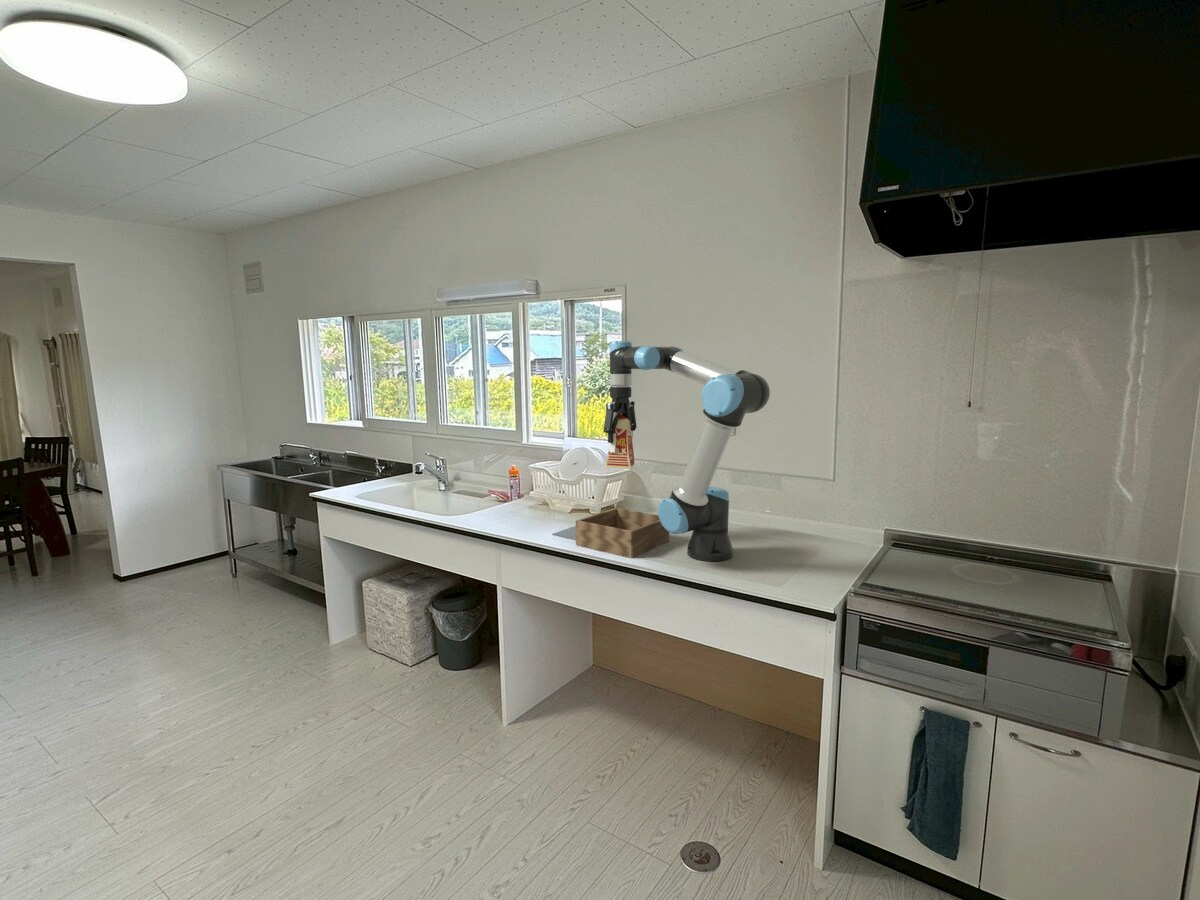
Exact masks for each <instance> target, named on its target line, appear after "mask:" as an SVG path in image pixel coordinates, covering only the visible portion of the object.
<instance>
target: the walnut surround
mask: <svg viewBox="0 0 1200 900" xmlns="http://www.w3.org/2000/svg"><path fill="white" fill-rule="evenodd" d="M575 526H576V540H575V546H576V545H578V546H577V547H580V546H582V547H581V548H585V547H586V548H587V549H589V548H590V550H593V549H595V550H594V551H597V552H603V553H606V552H607V554H612V555H615V554H616V556H619V555H620V556H619V557H624V556H625V557H624V558H628V557H629V559H633V558H636V557H637V556H640V555H642V554H644V553H646V552H648V551H651V550H653V549H655V548H658V547H660V546H663V545H664V544H667V543H670V532H668V531H667V530H666V529H665V528H664V527H663V525H662V524H661V522H660V518H659V516H658V514H654V513H648V512H641V511H636V510H630V509H626V508H625V509H624V508H618V507H615V508H611V509H608V510H606V511H605V510H604V511H601V512H599V513H596V514H593V515H589V516H587V517H584V518H581V519H580V518H579V519H578V520H575Z"/></svg>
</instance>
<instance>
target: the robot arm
mask: <svg viewBox="0 0 1200 900" xmlns="http://www.w3.org/2000/svg"><path fill="white" fill-rule="evenodd" d="M609 345H610V346H609V385H610V387H609V398H611V399H612V400H611V402H609V403H608V402H607V403H605V409H606V410H605V415H604V417H605V418H604V424H603V432H604V433H605V434H607V444H608V452H609V450H610V452H614V453H615V452H616V434H615V433H614V432H615V429H616V425H617V422H618V418H619V416H620V415H621V413H622V416H624V417H626V418H628V420H629V421H630V426H631V433H632V439H633V435H634V434H633V433H634V431H636V429H637V427H638V426H637V419H636V412H635V411H636V410H635V403H636V402H635V401H631V400H630V398H631V397H632V387H631V386H632V382H633V381H632V380H633V379H632V375H633V374H632V372H633V371H632V370H644V371H646V370H647V371H648V370H667V371H669V372H672V373H675V374H676V375H680V376H682V377H685V378H687V379H690V380H692V381H693V382H694V381H695V382H697V383H699V384H702V385H704V386H703V389H702V390H701V391H702V392H701V396H700V397H701V399H700V400H701V401H702V402H701V405H702V407H703V410H702V413H703V414H702V415H703V416H704V418H705V419H704V422H703V425H702V427H701V429H700V432H699V434H698V436H697V440H696V442H695V445H694V448H693V450H692V452H691V455H690V458H689V461H688V463H687V465H686V468H685V470H684V473H683V476H682V479H681V480H680V483H677V484H675V485H674V486H673V488H672V490H671V492H670V496H669V497H666V498H664V499H662V500H661V501H660V502H659V505H658V508H657V513H658V514H657V515H658V516H659V518H660V522H661V524H662V525H663V527H664V528H665V529H666V530H667V531H668V532H669V534H673V535H679V534H680V535H682V534H686V533H688V532H692V533H691V535H690V538H689V541H688V545H687V548H686V549H687V552H686V553H687V555H688V557H689V558H692V559H694V560H698V561H705V562H723V561H726V560H727V561H728V560H730V559H732V558H733V557H734V548H733V546H732V541H731V537H730V535H729V514H730V513H729V511H730V510H729V509H730V500H729V498H730V496H729V492H728V490H727V489H725V488H721V487H716V486H710V485H711V482H712V481H713V478H714V476H715V473H716V470H717V469H718V467H719V463H720V461H721V459H722V457H723V454H724V451H725V450H726V447H727V445H728V442H729V440H730V437H731V435H732V432H733V430H734V429H736V428H737V429H738V428H739V427H741V425H742V422H743V420H744V418H745V415H746V414H752V413H757V412H758V411H761V410H762V409H763V408H764V407H765V406H766V405H767V404H768V402H769V400H770V395H771V391H770V386H769V383H768V382H767V380H766V379H765V378H764V377H762V376H761V375H759V374H757V373H753V372H751V371H750V372H749V371H747V370H744V369H739V370H734V369H732V368H729V367H725V366H724V365H720V364H718V363H715V362H712V361H709V360H707V359H704V358H700V357H699V356H695V355H693V354H690V353H688V352H684V350H683V349H682V348H681V347H675V346H651V345H650V346H649V345H642V346H633V345H632V342H631V341H629V340H620V341H619V340H617V341H616V340H614V341H611V342H610V344H609ZM611 429H612V430H611ZM608 452H607V453H608Z"/></svg>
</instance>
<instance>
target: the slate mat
mask: <svg viewBox="0 0 1200 900" xmlns="http://www.w3.org/2000/svg"><path fill="white" fill-rule="evenodd" d="M551 535H552V536H556V537H560V538H564V539H569V540H573V539H574V540H573V541H576V525H574V526H572V527H568V528H565V529H562V530H559V531H557V532H554V533H551Z"/></svg>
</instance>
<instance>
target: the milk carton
mask: <svg viewBox="0 0 1200 900" xmlns="http://www.w3.org/2000/svg"><path fill="white" fill-rule="evenodd" d="M611 430H612V429H611ZM614 433H615V434H616V452H615V453H614V452H610V450H609V452H607V457H606V463H605V468H607V469H625V470H632V469H633V467H634V466H636V464H635V462H636V461H635V454H634V453H635V451H634V443H633V438H632V433H631V426H630V421H629V420H628V418H626V417H624V416H622V413H621V415H620V416H619V418H618V422H617V425H616V429H615V432H614Z"/></svg>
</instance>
